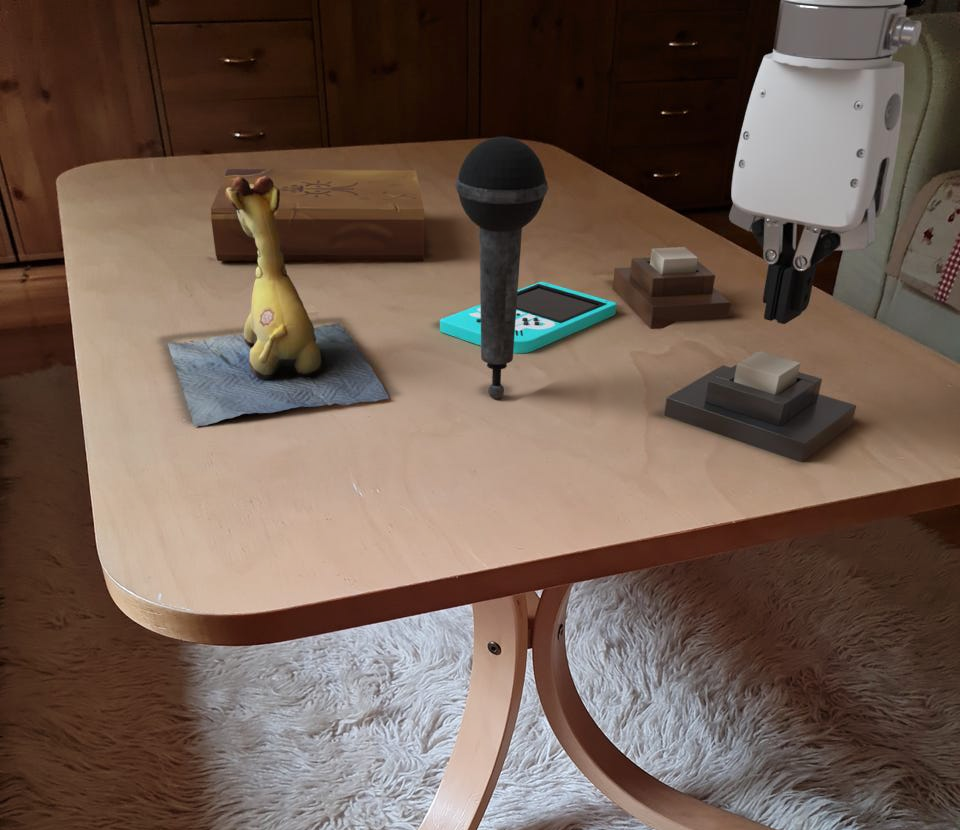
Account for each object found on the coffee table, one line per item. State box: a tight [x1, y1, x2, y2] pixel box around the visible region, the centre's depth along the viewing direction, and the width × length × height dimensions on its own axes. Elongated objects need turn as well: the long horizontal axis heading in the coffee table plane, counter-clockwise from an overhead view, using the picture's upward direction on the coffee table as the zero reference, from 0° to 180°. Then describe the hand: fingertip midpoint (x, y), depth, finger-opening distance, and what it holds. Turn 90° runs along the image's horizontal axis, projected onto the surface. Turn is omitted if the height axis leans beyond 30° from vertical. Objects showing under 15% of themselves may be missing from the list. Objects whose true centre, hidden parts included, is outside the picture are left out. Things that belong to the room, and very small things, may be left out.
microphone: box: [455, 136, 549, 400], centre depth 79 cm, size 7×7×20 cm
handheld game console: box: [439, 281, 617, 354], centre depth 99 cm, size 10×16×1 cm, turn 139°
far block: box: [612, 256, 731, 330], centre depth 102 cm, size 12×8×4 cm, turn 12°
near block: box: [663, 363, 857, 463], centre depth 80 cm, size 12×9×4 cm
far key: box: [650, 246, 699, 274], centre depth 101 cm, size 4×4×2 cm
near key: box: [734, 350, 801, 395], centre depth 79 cm, size 4×4×2 cm
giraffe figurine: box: [166, 176, 390, 427], centre depth 83 cm, size 16×18×16 cm
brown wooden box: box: [210, 168, 425, 262], centre depth 118 cm, size 23×19×6 cm
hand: (782, 316), depth 76 cm, fingers closed
